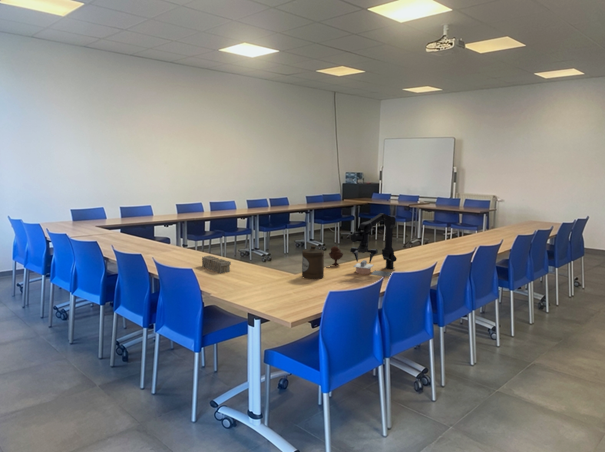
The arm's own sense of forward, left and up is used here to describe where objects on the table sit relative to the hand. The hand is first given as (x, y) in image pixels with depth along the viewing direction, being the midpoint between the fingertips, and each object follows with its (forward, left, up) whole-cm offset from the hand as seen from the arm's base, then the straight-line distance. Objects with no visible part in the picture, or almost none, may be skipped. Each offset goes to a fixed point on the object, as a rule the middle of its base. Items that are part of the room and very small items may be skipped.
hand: (363, 262), depth 307 cm
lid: (0, 0, -3) cm, 3 cm away
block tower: (+38, -100, -8) cm, 107 cm away
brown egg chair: (-15, -26, -8) cm, 31 cm away
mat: (-3, +13, -8) cm, 15 cm away
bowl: (0, 0, -8) cm, 8 cm away
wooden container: (+27, -28, -8) cm, 40 cm away
